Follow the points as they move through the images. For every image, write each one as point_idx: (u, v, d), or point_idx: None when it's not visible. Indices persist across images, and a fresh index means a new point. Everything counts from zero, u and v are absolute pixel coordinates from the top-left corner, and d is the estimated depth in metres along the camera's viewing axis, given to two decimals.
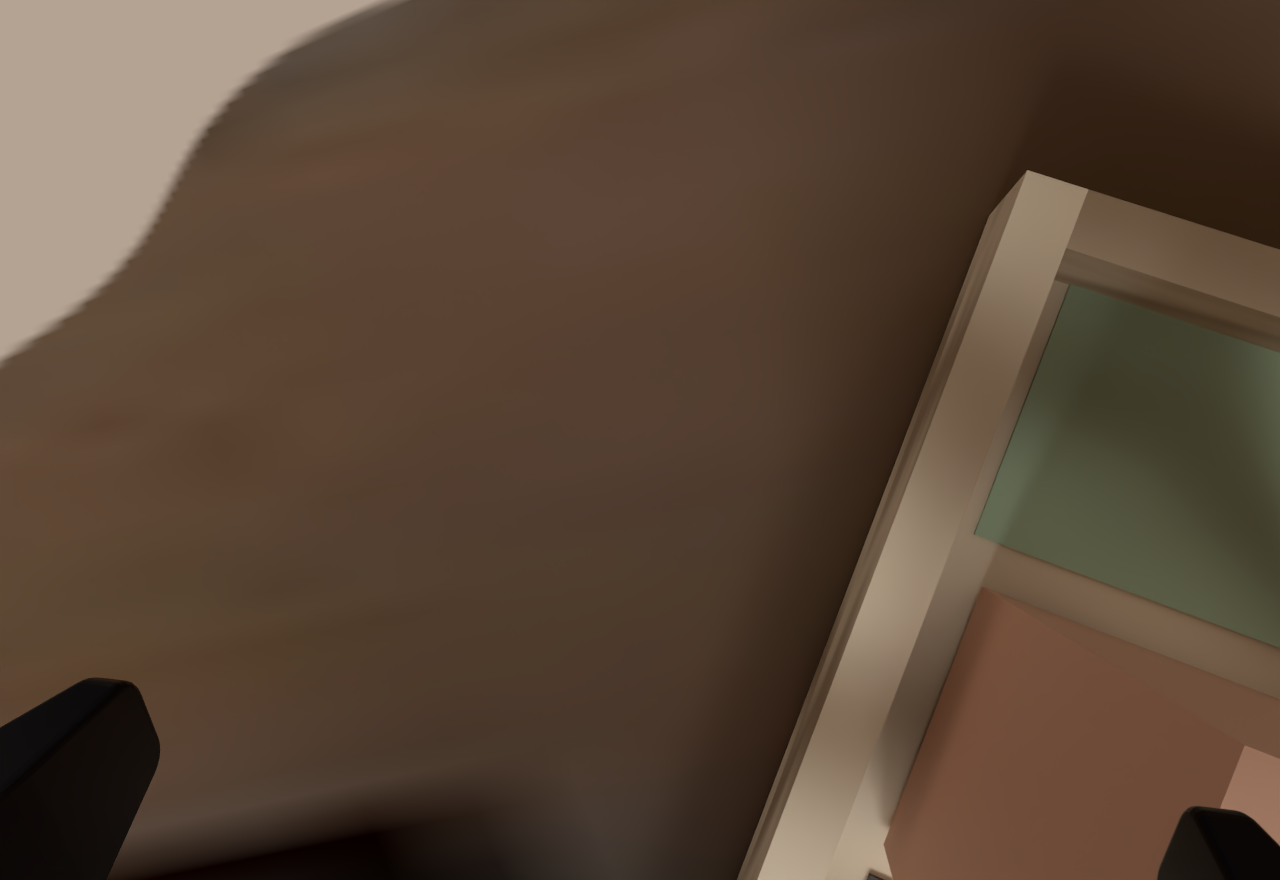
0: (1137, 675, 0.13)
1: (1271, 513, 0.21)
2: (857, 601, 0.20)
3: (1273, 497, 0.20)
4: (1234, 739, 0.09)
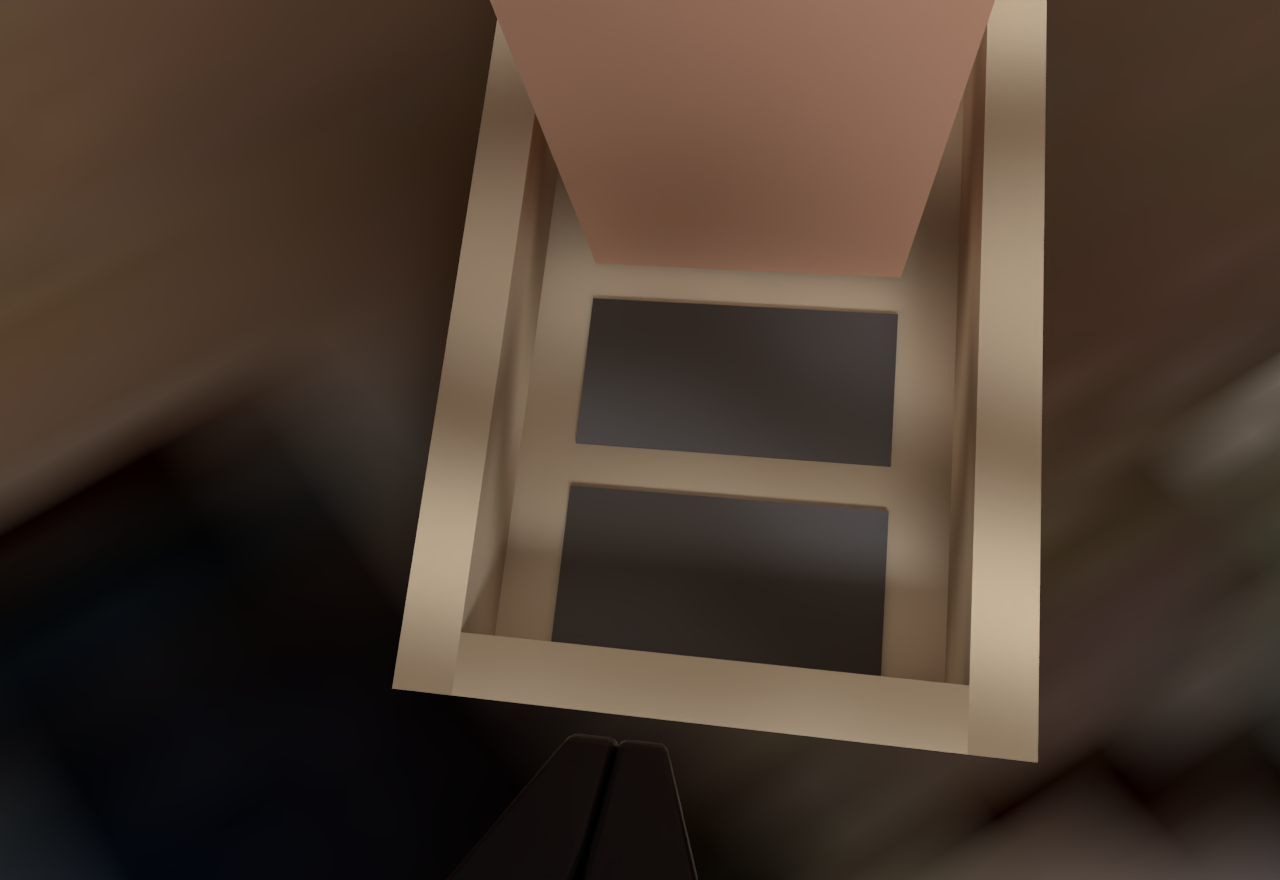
0: None
1: None
2: None
3: None
4: None
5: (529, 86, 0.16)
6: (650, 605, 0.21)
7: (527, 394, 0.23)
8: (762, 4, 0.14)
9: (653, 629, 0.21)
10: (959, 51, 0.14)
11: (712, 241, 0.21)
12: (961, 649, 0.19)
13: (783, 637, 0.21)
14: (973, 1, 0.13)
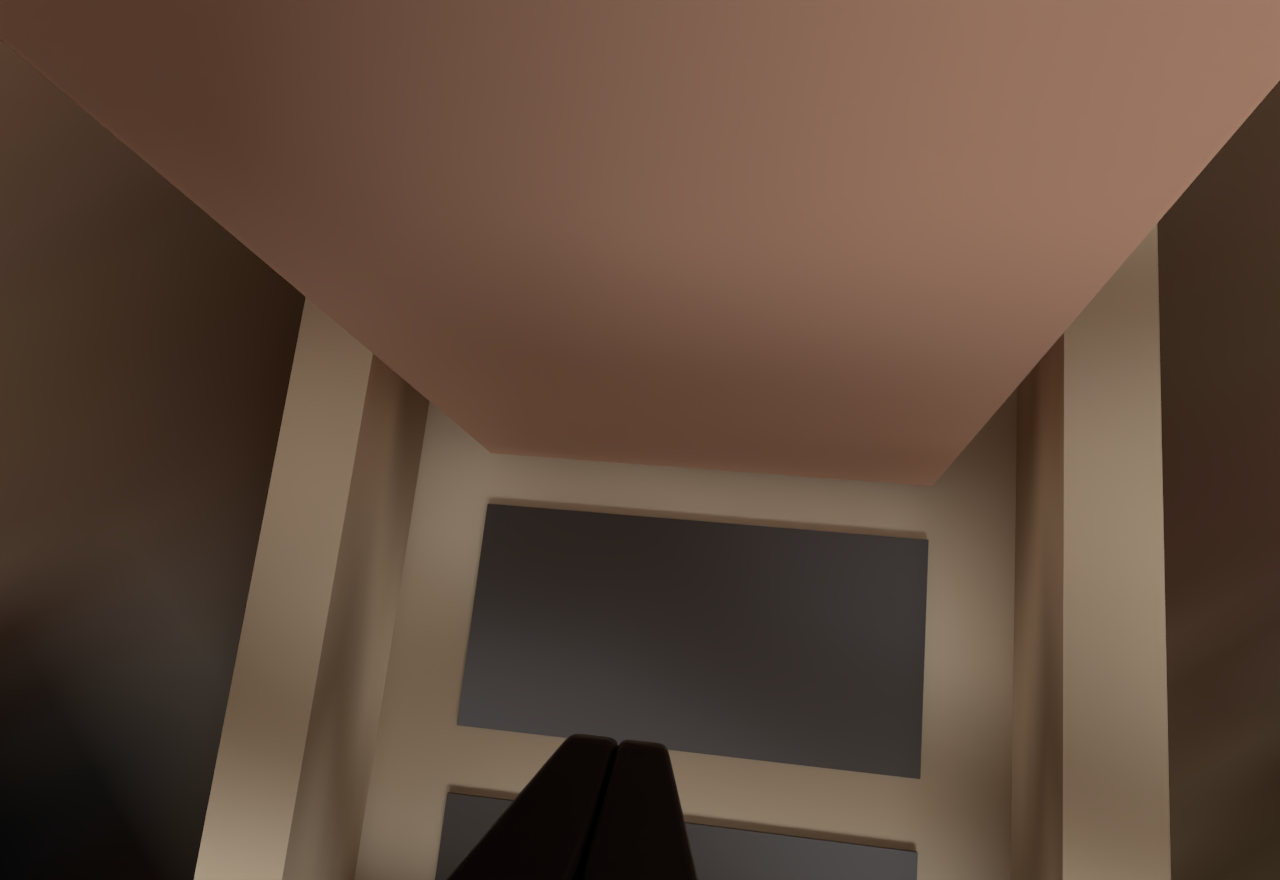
0: None
1: None
2: None
3: None
4: None
5: (295, 281, 0.09)
6: None
7: (391, 645, 0.16)
8: (686, 185, 0.07)
9: None
10: (1084, 264, 0.07)
11: (652, 444, 0.14)
12: None
13: None
14: (1135, 191, 0.06)
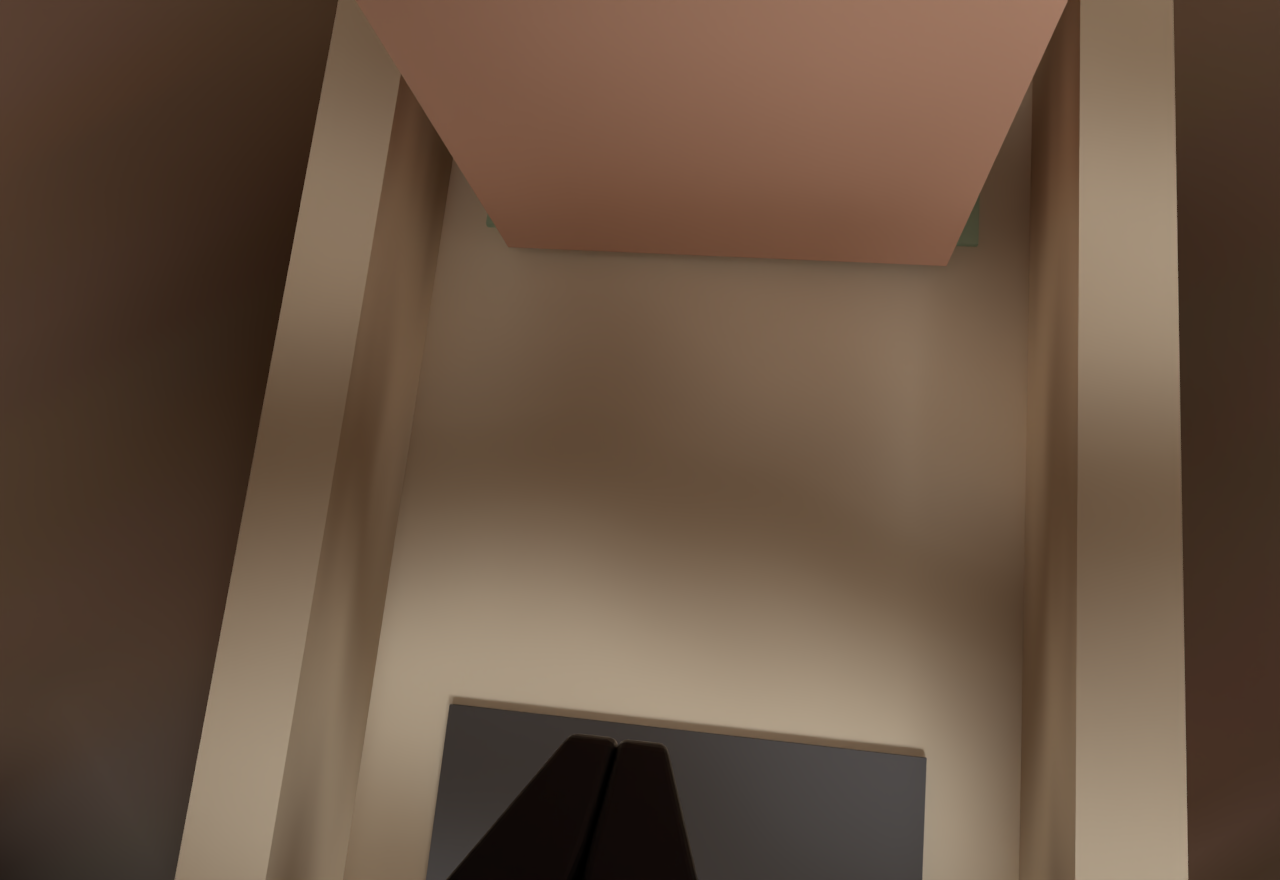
0: None
1: None
2: None
3: None
4: None
5: None
6: None
7: (345, 861, 0.15)
8: None
9: None
10: None
11: (669, 214, 0.14)
12: None
13: None
14: None
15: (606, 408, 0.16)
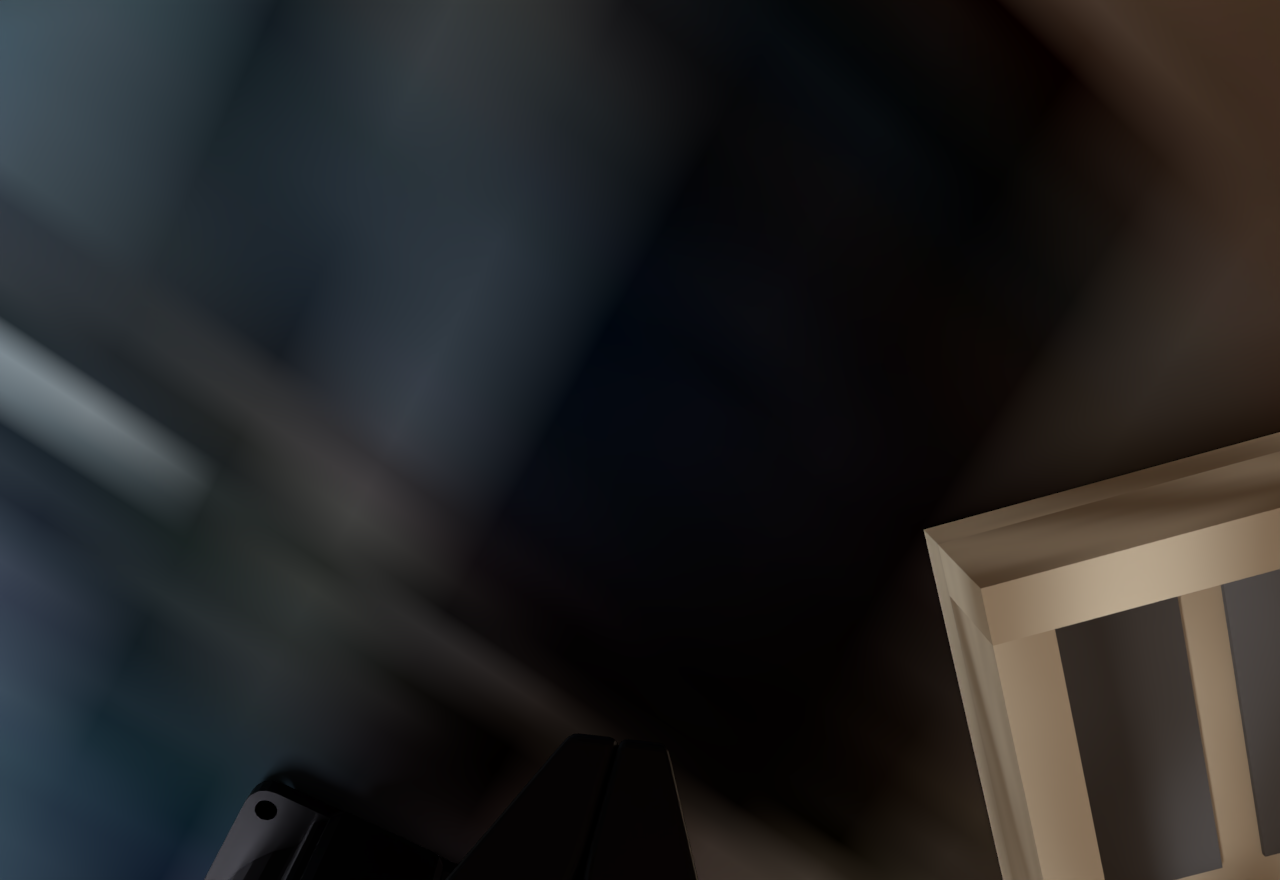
0: None
1: None
2: None
3: None
4: None
5: None
6: (1080, 709, 0.22)
7: None
8: None
9: None
10: None
11: None
12: None
13: None
14: None
15: None
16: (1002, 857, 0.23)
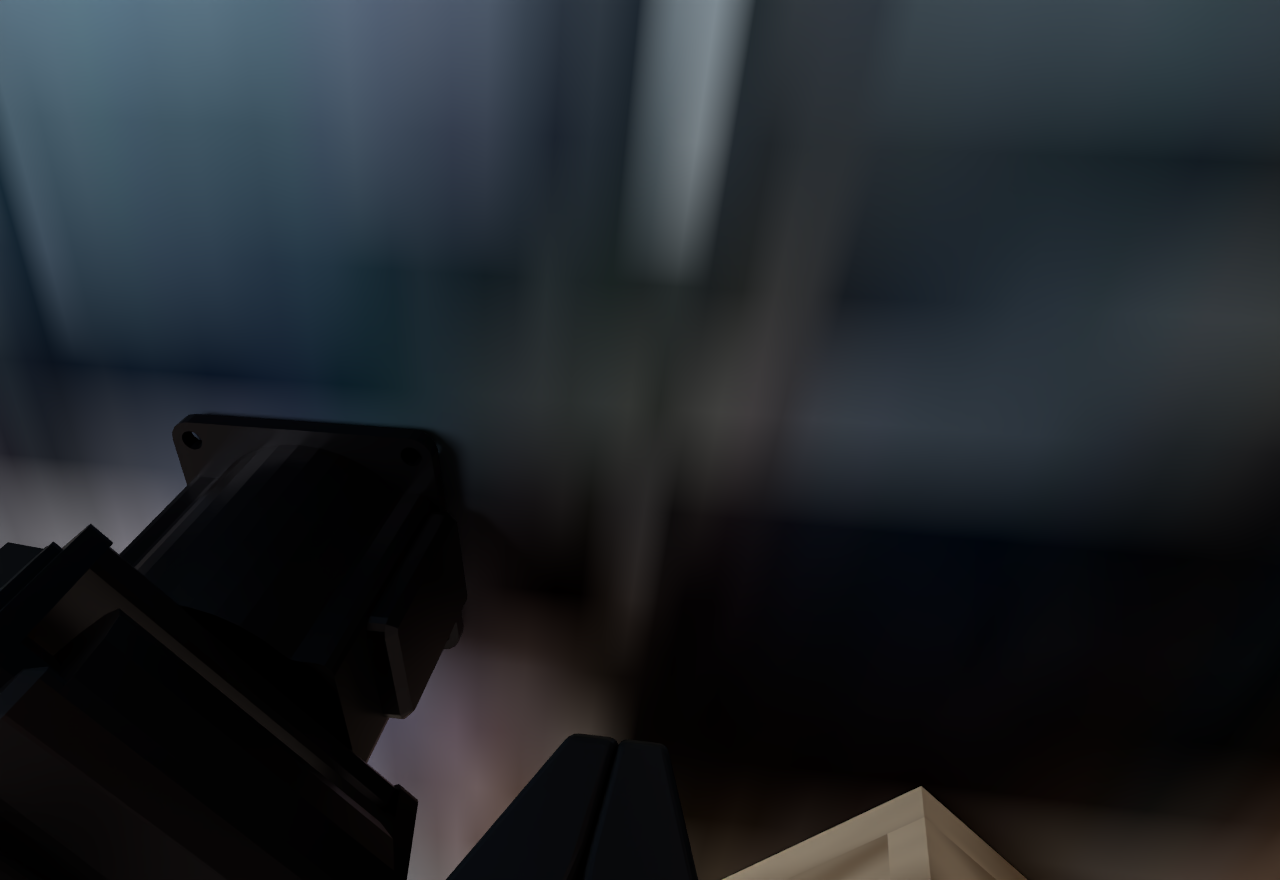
0: None
1: None
2: None
3: None
4: None
5: None
6: None
7: None
8: None
9: None
10: None
11: None
12: None
13: None
14: None
15: None
16: None
